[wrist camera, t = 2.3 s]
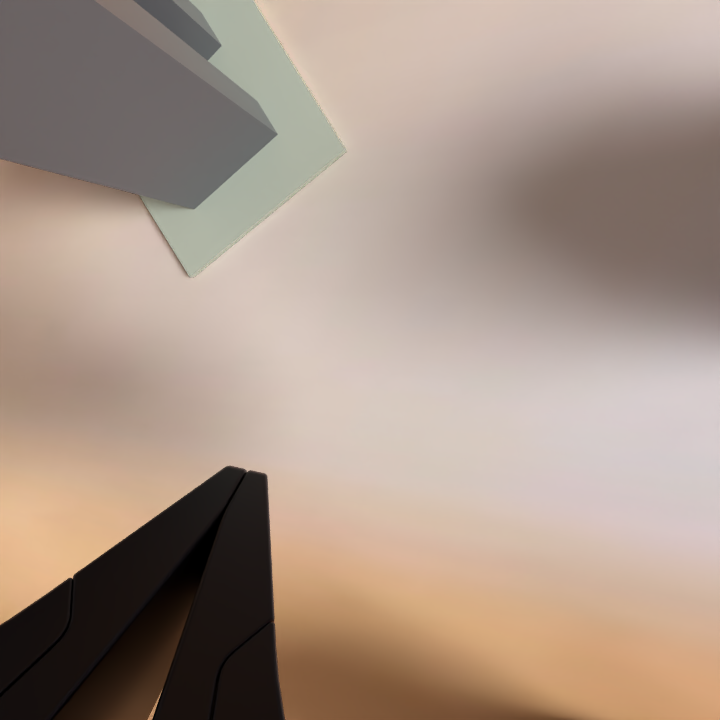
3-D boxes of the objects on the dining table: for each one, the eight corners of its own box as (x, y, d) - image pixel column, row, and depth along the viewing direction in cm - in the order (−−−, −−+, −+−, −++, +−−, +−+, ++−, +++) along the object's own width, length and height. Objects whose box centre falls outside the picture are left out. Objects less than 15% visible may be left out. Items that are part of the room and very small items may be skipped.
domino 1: (277, 134, 17) (34, -44, 8) (194, 209, 19) (-92, 135, 10) (257, 101, 17) (-11, -118, 8) (175, 178, 19) (-129, 74, 10)
